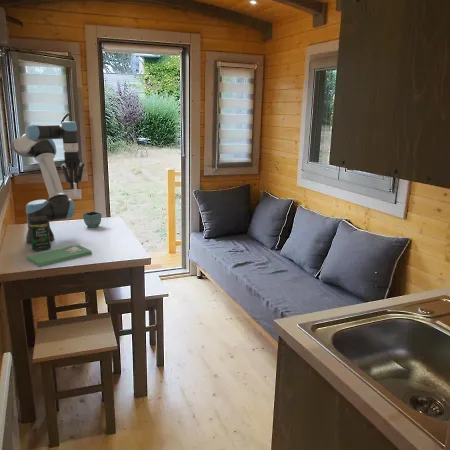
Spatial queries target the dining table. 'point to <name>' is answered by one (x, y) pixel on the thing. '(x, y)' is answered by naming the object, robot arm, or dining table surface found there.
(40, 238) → the coffee jar
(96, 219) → the flower pot
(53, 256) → the mat
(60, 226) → the dining table surface
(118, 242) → the dining table surface
